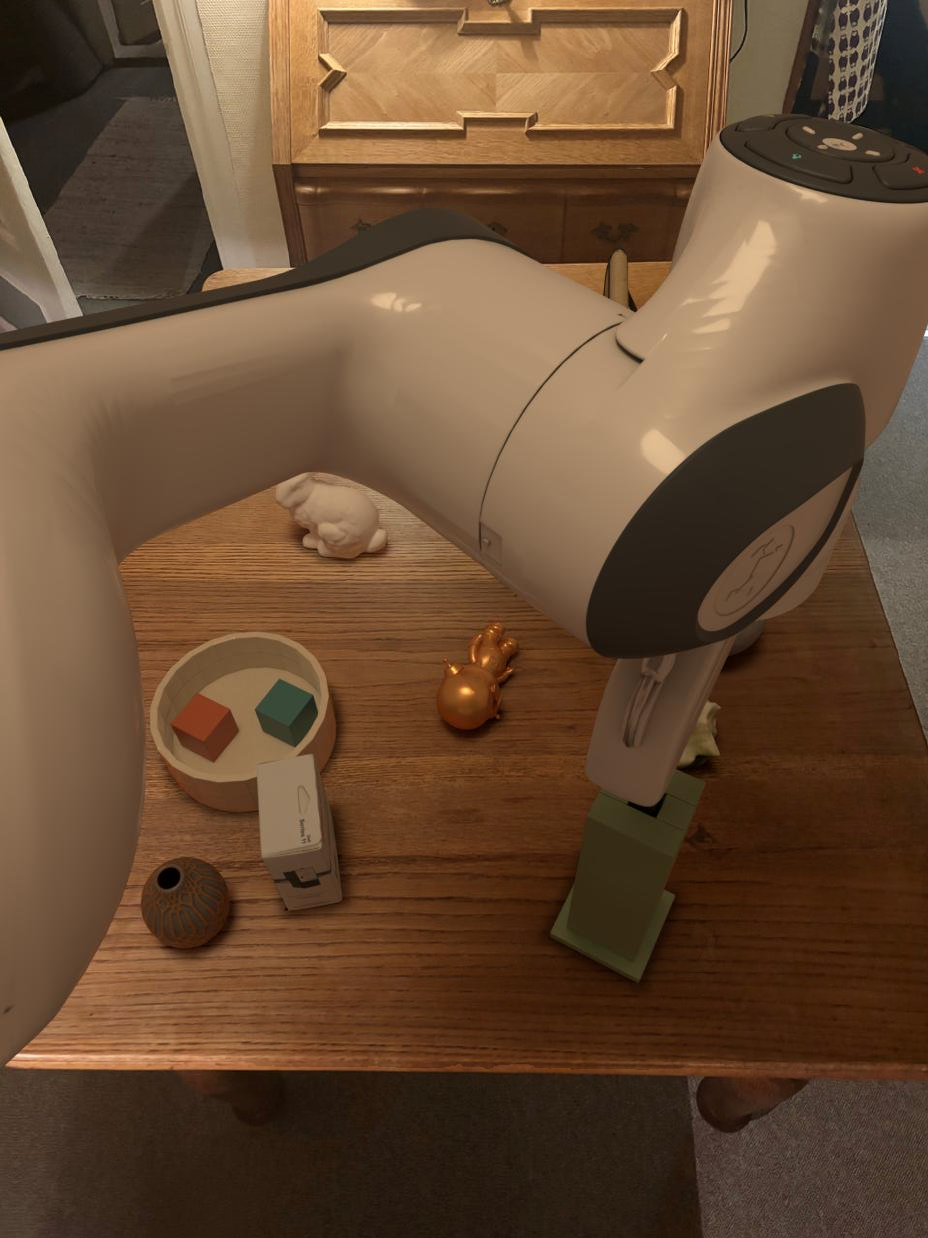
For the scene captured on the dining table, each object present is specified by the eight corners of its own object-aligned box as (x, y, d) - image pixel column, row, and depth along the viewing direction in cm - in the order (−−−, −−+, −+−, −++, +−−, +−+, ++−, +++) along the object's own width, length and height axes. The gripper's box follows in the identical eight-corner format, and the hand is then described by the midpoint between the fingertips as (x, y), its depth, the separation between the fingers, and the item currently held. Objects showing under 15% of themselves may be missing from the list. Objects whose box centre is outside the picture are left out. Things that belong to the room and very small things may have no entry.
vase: (142, 947, 77) (107, 909, 70) (177, 871, 81) (147, 828, 74) (218, 967, 76) (190, 930, 69) (249, 888, 80) (226, 846, 73)
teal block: (296, 748, 87) (288, 726, 84) (262, 731, 89) (254, 709, 86) (319, 716, 90) (313, 694, 86) (286, 700, 91) (279, 678, 88)
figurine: (544, 658, 93) (506, 741, 85) (502, 675, 97) (462, 757, 89) (492, 599, 91) (448, 678, 82) (452, 619, 95) (405, 697, 86)
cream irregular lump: (628, 698, 92) (649, 643, 87) (718, 732, 91) (745, 677, 85) (605, 764, 86) (626, 708, 81) (701, 801, 84) (729, 747, 79)
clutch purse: (652, 491, 109) (672, 389, 97) (593, 488, 109) (605, 386, 98) (647, 341, 127) (663, 240, 115) (597, 339, 127) (607, 238, 116)
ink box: (280, 822, 84) (254, 758, 74) (334, 813, 84) (314, 748, 75) (286, 915, 78) (258, 858, 69) (343, 904, 79) (324, 846, 69)
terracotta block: (214, 763, 87) (203, 741, 84) (181, 745, 88) (169, 724, 85) (239, 730, 89) (230, 708, 86) (207, 714, 90) (197, 692, 87)
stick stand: (638, 984, 74) (683, 878, 57) (549, 937, 77) (566, 822, 59) (673, 899, 78) (725, 776, 61) (588, 857, 81) (614, 728, 64)
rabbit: (279, 547, 105) (258, 469, 95) (316, 493, 110) (300, 414, 100) (375, 575, 102) (363, 498, 92) (408, 518, 107) (400, 439, 98)
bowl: (271, 842, 82) (258, 812, 78) (131, 765, 88) (111, 733, 83) (369, 706, 91) (362, 672, 86) (236, 643, 96) (223, 608, 92)
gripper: (719, 733, 33) (662, 882, 44) (862, 406, 44) (788, 591, 55) (560, 666, 35) (543, 824, 46) (734, 369, 46) (687, 554, 57)
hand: (678, 695), depth 50 cm, fingers open, 8 cm apart
